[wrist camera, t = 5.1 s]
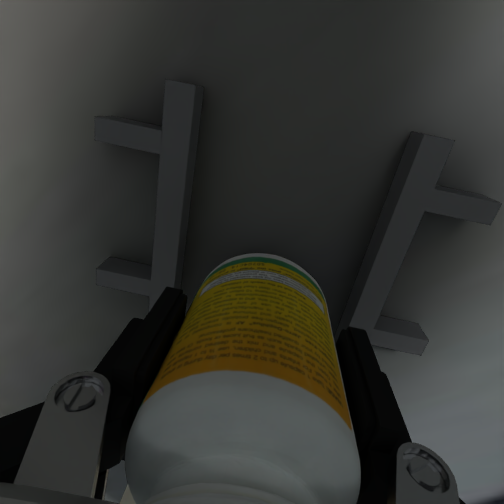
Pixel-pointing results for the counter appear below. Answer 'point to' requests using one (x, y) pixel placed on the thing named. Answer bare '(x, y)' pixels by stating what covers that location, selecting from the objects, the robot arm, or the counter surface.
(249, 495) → the supplement bottle
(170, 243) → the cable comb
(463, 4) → the counter surface
